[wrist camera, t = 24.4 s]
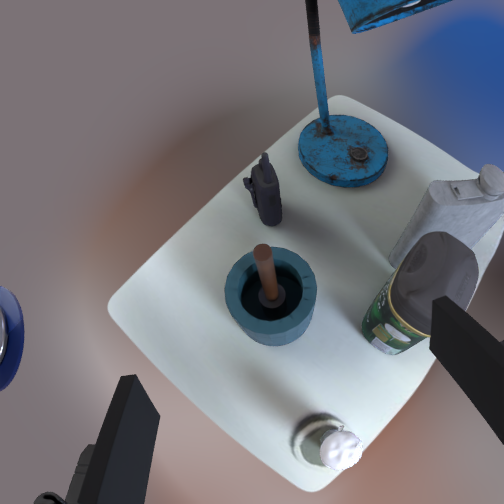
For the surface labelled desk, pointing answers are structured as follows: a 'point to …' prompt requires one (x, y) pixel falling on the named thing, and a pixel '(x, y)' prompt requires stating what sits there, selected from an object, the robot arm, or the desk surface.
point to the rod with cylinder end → (269, 284)
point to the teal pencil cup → (248, 305)
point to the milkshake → (340, 449)
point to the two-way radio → (265, 191)
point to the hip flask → (455, 211)
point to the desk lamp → (341, 126)
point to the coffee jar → (420, 291)
